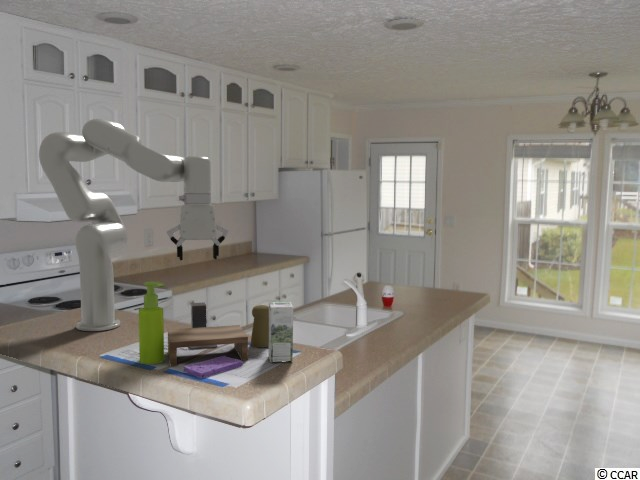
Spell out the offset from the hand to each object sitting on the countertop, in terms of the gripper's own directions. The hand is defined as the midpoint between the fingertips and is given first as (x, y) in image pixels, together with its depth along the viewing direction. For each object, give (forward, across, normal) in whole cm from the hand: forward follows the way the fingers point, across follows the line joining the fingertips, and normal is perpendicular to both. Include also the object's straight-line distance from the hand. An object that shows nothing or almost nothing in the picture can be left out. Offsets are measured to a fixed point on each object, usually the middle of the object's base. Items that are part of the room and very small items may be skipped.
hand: (198, 259), depth 164 cm
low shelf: (+22, 0, -21) cm, 31 cm away
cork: (+22, +16, -15) cm, 31 cm away
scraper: (+22, 0, -6) cm, 23 cm away
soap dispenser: (+22, -13, -22) cm, 34 cm away
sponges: (+23, 0, -31) cm, 39 cm away
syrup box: (+22, +18, -29) cm, 41 cm away
